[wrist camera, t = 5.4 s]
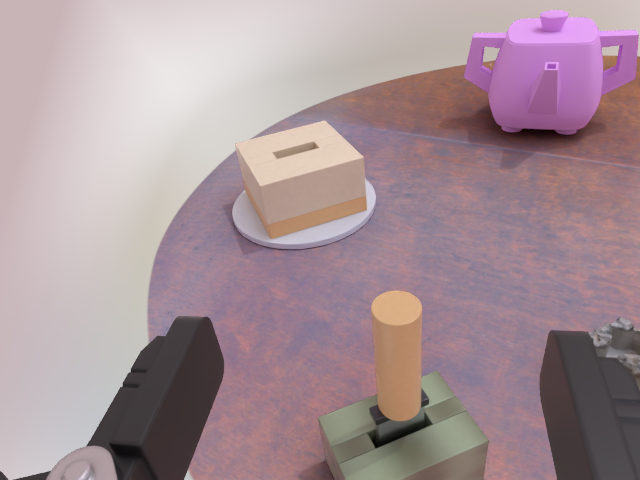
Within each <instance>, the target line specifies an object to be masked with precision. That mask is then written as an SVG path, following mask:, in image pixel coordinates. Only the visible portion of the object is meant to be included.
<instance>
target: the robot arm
mask: <svg viewBox="0 0 640 480" xmlns="http://www.w3.org/2000/svg"><path fill="white" fill-rule="evenodd" d="M223 373H224V359H223V355H222V352H221V349H220V346H219V343H218V340H217V337H216V334H215V331H214V328H213V325H212V322H211V320H210V319H209V318H208V317H191V316H179V317H177V318H176V319H175V320H174V322H173V324H172V326H171V327H170V329H169V331H168V333H167V335H166V336H157V337H156V338H155V339H154V340H153V341H152V342H150V343H149V344H148V345H147V346H146V347H145V348H144V349H143V350H142V351H141V352H140V354H139V356H138V358H137V359H136V361H135V363H134V365H133V366H132V368H131V372H130V373H128V375H127V377H126V378H125V380H124V382H123V386H122V387H120V389H119V391H118V393H117V394H116V396H115V398H114V400H113V402H112V403H111V405H110V407H109V408H108V410H107V412H106V414H105V415H104V417H103V419H102V421H101V422H100V424H99V426H98V428H97V429H96V431H95V433H94V435H93V436H92V438H91V440H90V441H89V443H88V445H87V446H86V447H83V448H80V449H77V450H75V451H73V452H71V453H70V454H68V455H66V456H65V457H64V458H63V459H61V460H60V461H59V462H58V463H57V464H56V465H55V466H54V468H53V469H52V470H51V471H49V472H45V473H40V474H36V475H32V476H28V477H23V478H19V479H15V480H184V478H185V475H186V473H187V470H188V468H189V465H190V462H191V460H192V457H193V455H194V452H195V449H196V447H197V444H198V442H199V439H200V436H201V434H202V431H203V429H204V426H205V423H206V421H207V418H208V416H209V413H210V410H211V408H212V405H213V403H214V400H215V397H216V395H217V392H218V390H219V387H220V384H221V382H222V378H223ZM540 397H541V404H542V408H543V413H544V418H545V423H546V427H547V432H548V437H549V442H550V446H551V451H552V456H553V461H554V465H555V470H556V475H557V480H640V390H639V387H638V385H637V382H636V380H635V378H634V376H633V375H632V374H631V373H630V372H629V371H628V370H627V369H626V368H625V367H624V366H623V365H622V363H621V362H620V361H619V360H618V359H617V358H616V357H598V355H597V353H596V350H595V347H594V344H593V341H592V338H591V336H590V334H589V333H588V332H583V331H555V330H551V331H550V332H549V335H548V340H547V345H546V349H545V354H544V359H543V364H542V369H541V374H540ZM0 480H8V479H7V478H6V476H5V475H4V474H3V473H2V472H1V471H0Z"/></svg>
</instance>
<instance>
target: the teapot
mask: <svg viewBox="0 0 640 480" xmlns="http://www.w3.org/2000/svg"><path fill="white" fill-rule="evenodd" d="M568 15H569V13H568V12H565V11H561V10H551V11H546V12H543V13H541V14H540V18H534V19H533V18H531V19H519V20H516V21H515V22H514V23H513V24H512V25H511V26H510V27H509V29H508V32H507V33H475V34H474V36H473V37H472V42H471V46H470V51H469V56H468V60H467V65H466V70H465V74H464V78H466V79H467V80H469V81H470V82H472V83H473V84H475V85H476V86H478V87H479V88H481V89H483V90H484V91H486V92H487V93H489V104H490V108H491V111H492V115H493V117H494V119H495V122H496V123H497V124H498V125H500V126H502V127H501V128H502V130H504V131H507V132H518V131H521V130H522V129H523V128H526V129H550V130H555V132H557V133H559V134H565V135H569V134H574V133H576V132H577V129H581V128H583V127H585V126H586V125H587V124H588V122H589V121H590V120H591V118H592V117H593V115H594V113H595V112H596V110H597V107H598V105H599V102H600V97H601V95H604V94H606V93H608V92H610V91H612V90H614V89H616V88H618V87H620V86H622V85H624V84H626V83H628V82H630V81H632V80H634V79H635V78H636V64H637V50H638V36H639V35H638V33H637V31H636V30H618V31H599V30H598V27H597V26H596V24H595V23H594V21H592V20H591V19H589V18H583V17H572V18H571V17H569V18H568ZM617 45H620V46H619V53H618V58H617V64H616V66H614V67H612V68H610V69H608V70H605V71H603V57H602V48H601V47H609V46H617ZM484 46H487V47H495V48H500V50H499V53H498V56H497V58H496V61H495V64H494V68H493V71H491V70H490V69H488V68H486V67H485V66H483V65H482V62H483V54H484Z"/></svg>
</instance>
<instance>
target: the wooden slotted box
mask: <svg viewBox="0 0 640 480" xmlns="http://www.w3.org/2000/svg"><path fill="white" fill-rule="evenodd" d="M235 146H236V151H237V155H238V160H239V164H240V169H241V173H242V177H243V182H244V186H245V191H246V193H247V195H248V197H249V199H250V201H251V203H252V205H253V206H254V208H255V210H256V212H257V214H258V216H259V218H260V220H261V221H262V223H263V225H264V227H265V229H266V231H267V233H268V235H269V236H270V238H271V239H274V238H277V237H280V236H284V235H287V234H290V233H293V232H297V231H300V230H303V229H307V228H310V227H313V226H316V225H320V224H323V223H326V222H330V221H333V220H336V219H339V218H343V217H346V216H349V215H353V214H356V213H359V212H362V211H366V210H367V199H366V184H365V169H364V157H363V156H362V155H361V154H360V153H359V152H358V151H357V150H356V149H354V148H353V147H352V146H351V145H350V144H349V143H348V142H347V141H346V140H345V139H344V138H343V137H342V136H341V135H340V134H339V133H338V132H337V131H335V130H334V129H333V128H332V127H331V126H330V125H329V124H328V123H327V122H326V121H321V122H317V123H313V124H309V125H306V126H302V127H298V128H294V129H290V130H286V131H282V132H278V133H274V134H270V135H267V136H263V137H259V138H255V139H251V140H247V141H243V142H239V143H236V144H235Z"/></svg>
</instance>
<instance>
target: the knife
mask: <svg viewBox="0 0 640 480" xmlns="http://www.w3.org/2000/svg"><path fill="white" fill-rule="evenodd" d="M371 315H372V329H373V343H374V358H375V372H376V386H377V400H378V405H375V406H373V407H370V408H369V411H370V415H371V417H372V419H373V421H374V422H375V432H376V445H377V448H379V447H381V446H383V445H386V444H388V443H390V442H393V441H395V440H398V439H400V438H402V437H405V436H407V435H409V434H412V433H414V432H417V431H419V430H421V429H424V406H426V405H429V398H428V396H427V395H426V393H425V392H424V390H423V389H422V387H421V365H422V305H421V303H420V301H419V300H418V299H417V297H415V296H414V295H412V294H410V293H408V292H404V291H388V292H385V293H382V294H381V295H379V296H378V297H376V298H375V300H374V301H373V303H372V306H371Z"/></svg>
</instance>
